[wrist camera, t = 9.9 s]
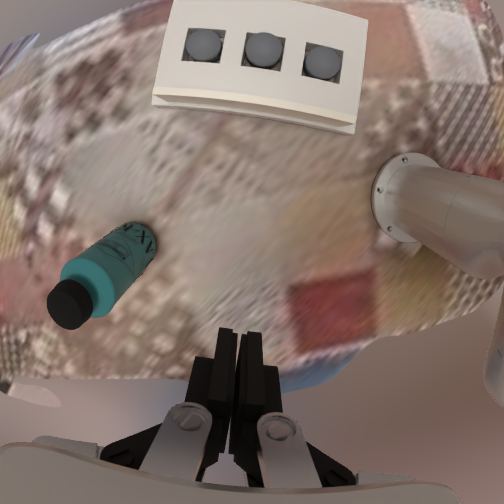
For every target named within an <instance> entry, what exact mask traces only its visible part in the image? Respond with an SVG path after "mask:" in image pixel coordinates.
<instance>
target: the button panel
mask: <svg viewBox="0 0 504 504" xmlns="http://www.w3.org/2000/svg"><path fill="white" fill-rule="evenodd" d="M367 28H368V20H366V19H363V18H360V17H356V16H353V15H350V14H346V13H343V12H339V11H335V10H331V9H328V8H323V7H319V6H315V5H310V4H306V3H301V2H296V1H290V0H174V2H173V5H172V9H171V13H170V17H169V21H168V25H167V29H166V33H165V37H164V42H163V46H162V51H161V55H160V60H159V65H158V70H157V75H156V80H155V86H154V88H153V97H152V103H151V105H153V106H156V107H158V108H175V109H188V110H200V111H210V112H219V113H228V114H236V115H243V116H250V117H257V118H263V119H270V120H276V121H281V122H287V123H292V124H298V125H303V126H308V127H313V128H317V129H322V130H326V131H331V132H335V133H340V134H344V135H354V132H355V126H356V120H357V113H358V106H359V99H360V92H361V84H362V76H363V68H364V59H365V49H366V39H367ZM201 29H209V30H212V31H214V32H216V33H217V34H218V36H219V37H222V38H225V39H224V44H223V49H222V54H221V60H220V64H219V63H207V62H192V61H187V60H188V55H189V53H188V51H187V49H186V41H187V39H188V37H189V36H190V35H191V34H192V33H193V32H195V31H197V30H201ZM261 32H267V33H271V34H273V35H275V36H276V37H277V38H278V39H279V40H280V42H281V44H282V45H284V46H283V52H282V58H281V64H280V70H279V71H274V70H267V69H261V68H254V67H246V66H242V65H243V60H244V54H245V49H246V43H247V40H248V39H249V38H250V37H251V36H253V35H254V34H257V33H261ZM320 46H323V47H328V48H330V49H332V50H333V51H335V52H336V53H337V55H338V56H339V58H340V62H341V66H340V69H339V71H338V72H337V73H336V74H335V79H334V83H332V82H328V81H324V80H319V79H315V78H310V77H306V76H301V73H302V67H303V60H304V54H305V50H309V51H311V50H312V49H313V48H315V47H320Z"/></svg>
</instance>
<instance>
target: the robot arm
mask: <svg viewBox="0 0 504 504" xmlns="http://www.w3.org/2000/svg"><path fill="white" fill-rule="evenodd" d="M402 158H403V161H402ZM378 188H379V191H377V189H378ZM371 202H372V210H373V213H374V217H375V219H376V221H377V223H378V225H379V226H380V227H381V229H382V230H383V231H384V232H385V233H386V234H387V235H388V236H390V237H392V238H393V239H395V240H397V241H399V242H404V243H416V242H420V243H422V244H423V245H425V246H426V247H428V248H429V249H431V250H432V251H434V252H435V253H437V254H438V255H440V256H441V257H443V258H444V259H446V260H447V261H449V262H450V263H452V264H453V265H455V266H456V267H457V268H459V269H460V270H462V271H463V272H465V273H466V274H468V275H470V276H472V277H475V278H479V279H491V278H495V277H499V276H501V275H504V181H499V180H495V179H491V178H486V177H481V176H476V175H471V174H467V173H462V172H457V171H452V170H447V169H441V167H440V166H439V165H438V164H437V163H436V162H435V161H434V160H433V159H431V158H430V157H428V156H426V155H424V154H420V153H413V152H408V153H402V154H399V155H396V156H394V157H393V158H391V159H390V160H388V161H387V162H386V163H385V164H384V165H383V166H382V168H381V169H380V171H379V172H378V174H377V176H376V178H375V181H374V184H373V188H372V196H371ZM388 226H389V228H388ZM387 228H388V229H387ZM232 332H233V329H228V328H221V327H219V332H218V338H217V344H216V350H215V356H214V359H211V358H205V357H198V356H196V357H195V360H194V364H193V368H192V372H191V376H190V380H189V385H188V389H187V393H186V397H185V402H182V403H179V404H176V405H175V406H173V407H171V409H170V410H169V411H168V413H167V415H166V417H165V419H164V421H163V423H161V424H158V425H156V426H154V427H151V428H149V429H147V430H144V431H142V432H139V433H137V434H134V435H132V436H129V437H127V438H124V439H121V440H119V441H116V442H113V443H111V444H109V445H107V446H106V447H101V446H98V445H97V443H89V442H82V441H75V440H69V439H63V438H57V437H52V436H40V437H37V438H36V439H34V440H33V441H32V442H16V443H9V444H6V445H4V446H2V447H0V504H463V502H462V501H461V499H460V498H459V496H458V495H457V493H456V492H455V491H454V490H453V489H452V488H450V487H448V486H446V485H444V484H441V483H437V482H432V481H424V480H415V478H413V477H412V476H410V475H406V474H393V473H391V474H390V473H376V472H364V471H358V473H352V472H351V471H350V470H349V469H348V468H346V467H345V466H343V465H341V464H340V463H338V462H337V461H335V460H333V459H332V458H330V457H329V456H327V455H326V454H324V453H322V452H321V451H320V450H318V449H317V448H315V447H314V446H312V445H311V444H309V443H308V442H306V441H305V438H304V435H303V433H302V429H301V427H300V425H299V423H298V421H296V420H295V419H294V418H293V417H291V416H289V415H287V414H284V413H283V411H282V401H281V392H280V383H279V373H278V367H277V366H268V365H263V351H262V333H259V332H251V331H248V332H247V335H246V334H242V336H241V342H240V348H239V354H238V359H237V365H236V352H237V337H238V333H232ZM235 368H236V371H235ZM484 382H485V385H486V388H487V391H488V392H489V394H490V395H491V397H492V398H493V399H494V400H495V401H496V402H497V403H498V404H500V405H501V406H502V407H504V289H503V294H502V301H501V305H500V309H499V313H498V317H497V321H496V324H495V328H494V332H493V335H492V338H491V342H490V346H489V349H488V352H487V356H486V359H485V365H484ZM230 418H231V422H230ZM229 423H230V439H229V454H234V462H236V464H237V465H239V466H240V467H241V468H242V469H243V470H244V471H243V476H244V482H245V487H241V486H240V487H239V486H228V485H219V484H211V483H203V480H204V478H205V474H206V471H207V467H209V466H211V465H212V464H214V463H216V462H217V461H218V456H219V453H224V450H225V445H226V440H227V434H228V429H229Z"/></svg>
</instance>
